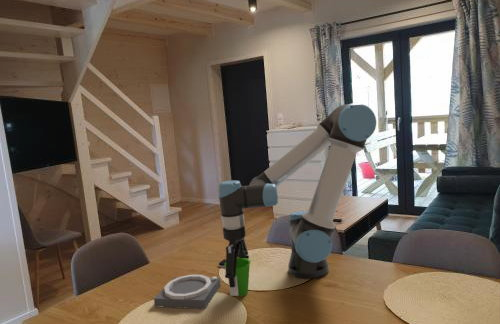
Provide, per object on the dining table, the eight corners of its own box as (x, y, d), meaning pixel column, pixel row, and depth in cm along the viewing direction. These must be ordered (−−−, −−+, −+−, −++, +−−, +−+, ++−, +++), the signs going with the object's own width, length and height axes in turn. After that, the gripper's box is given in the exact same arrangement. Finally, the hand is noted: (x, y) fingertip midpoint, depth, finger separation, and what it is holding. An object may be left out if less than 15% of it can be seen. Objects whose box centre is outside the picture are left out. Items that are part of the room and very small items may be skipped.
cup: (250, 299, 122) (247, 268, 121) (224, 299, 124) (221, 268, 123) (255, 287, 131) (252, 257, 129) (231, 286, 133) (228, 257, 131)
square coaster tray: (220, 285, 134) (219, 274, 134) (205, 308, 119) (203, 296, 118) (175, 284, 139) (174, 274, 138) (155, 306, 123) (153, 295, 123)
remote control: (217, 267, 152) (217, 263, 152) (234, 256, 163) (234, 251, 163) (229, 269, 149) (229, 264, 149) (246, 257, 160) (245, 253, 159)
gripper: (233, 216, 137) (238, 270, 140) (210, 239, 113) (218, 303, 116) (252, 215, 135) (257, 270, 138) (234, 238, 111) (240, 304, 114)
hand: (239, 285), depth 127 cm, fingers open, 13 cm apart
